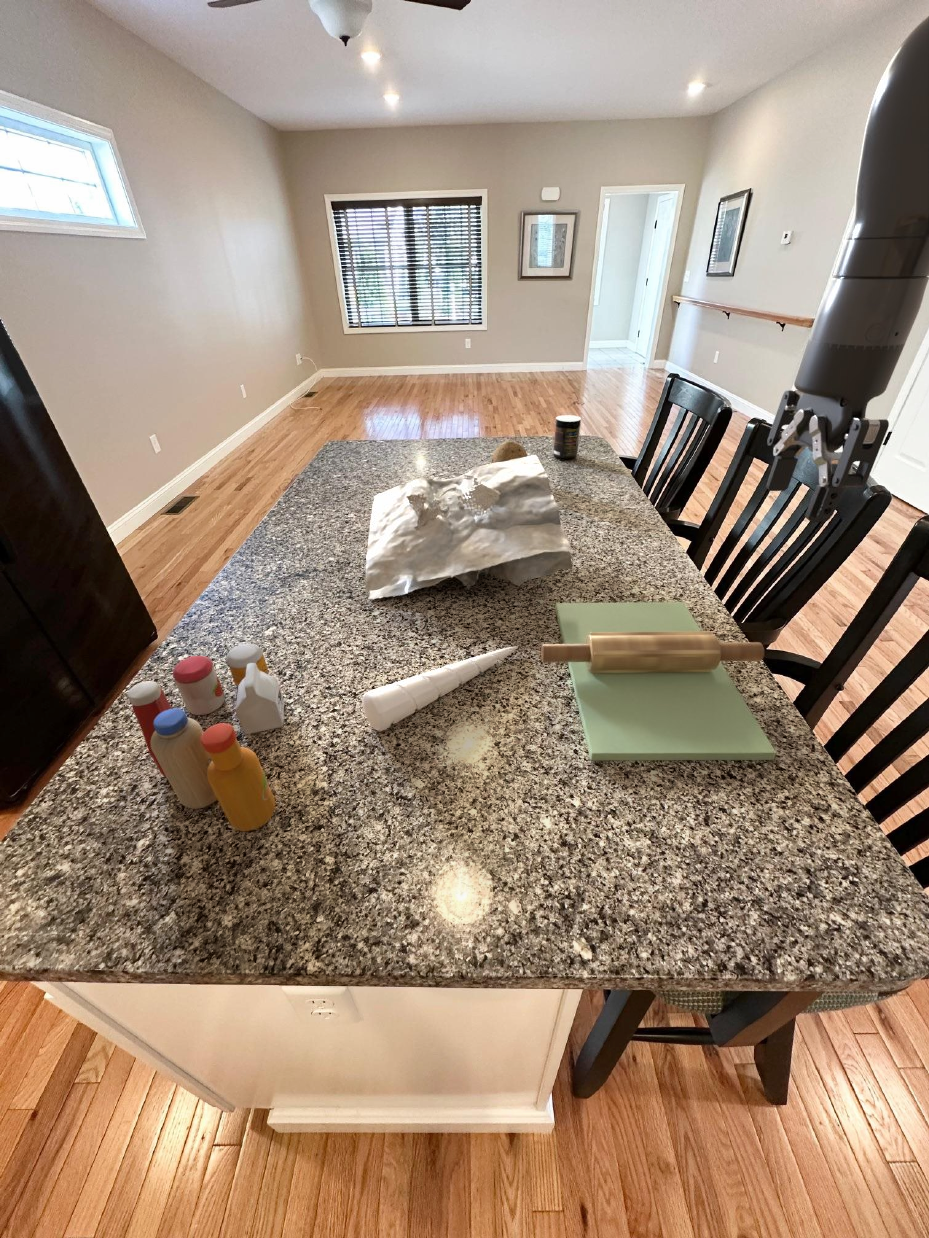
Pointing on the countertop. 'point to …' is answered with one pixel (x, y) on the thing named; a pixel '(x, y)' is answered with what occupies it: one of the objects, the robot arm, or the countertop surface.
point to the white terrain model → (466, 529)
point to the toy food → (213, 735)
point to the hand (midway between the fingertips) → (794, 504)
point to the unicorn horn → (423, 689)
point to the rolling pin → (652, 652)
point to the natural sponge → (508, 452)
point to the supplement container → (566, 437)
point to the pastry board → (657, 695)
